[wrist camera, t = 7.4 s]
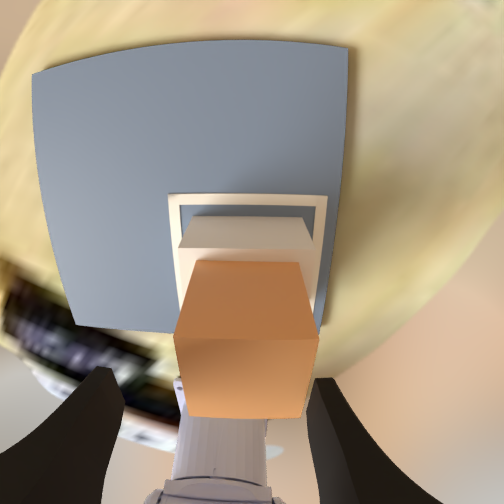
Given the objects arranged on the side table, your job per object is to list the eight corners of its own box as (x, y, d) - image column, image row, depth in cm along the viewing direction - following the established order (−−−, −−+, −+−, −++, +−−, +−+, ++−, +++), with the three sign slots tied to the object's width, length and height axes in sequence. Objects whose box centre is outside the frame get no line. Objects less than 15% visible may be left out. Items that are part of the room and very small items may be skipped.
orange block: (289, 338, 16) (300, 417, 11) (202, 336, 16) (189, 415, 11) (298, 262, 14) (319, 339, 9) (195, 260, 14) (173, 336, 9)
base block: (293, 306, 20) (301, 350, 16) (199, 305, 20) (190, 348, 16) (302, 217, 17) (315, 249, 14) (192, 216, 17) (177, 248, 13)
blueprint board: (317, 329, 21) (319, 335, 21) (79, 319, 21) (75, 325, 21) (344, 50, 13) (348, 48, 13) (37, 74, 13) (30, 74, 13)
